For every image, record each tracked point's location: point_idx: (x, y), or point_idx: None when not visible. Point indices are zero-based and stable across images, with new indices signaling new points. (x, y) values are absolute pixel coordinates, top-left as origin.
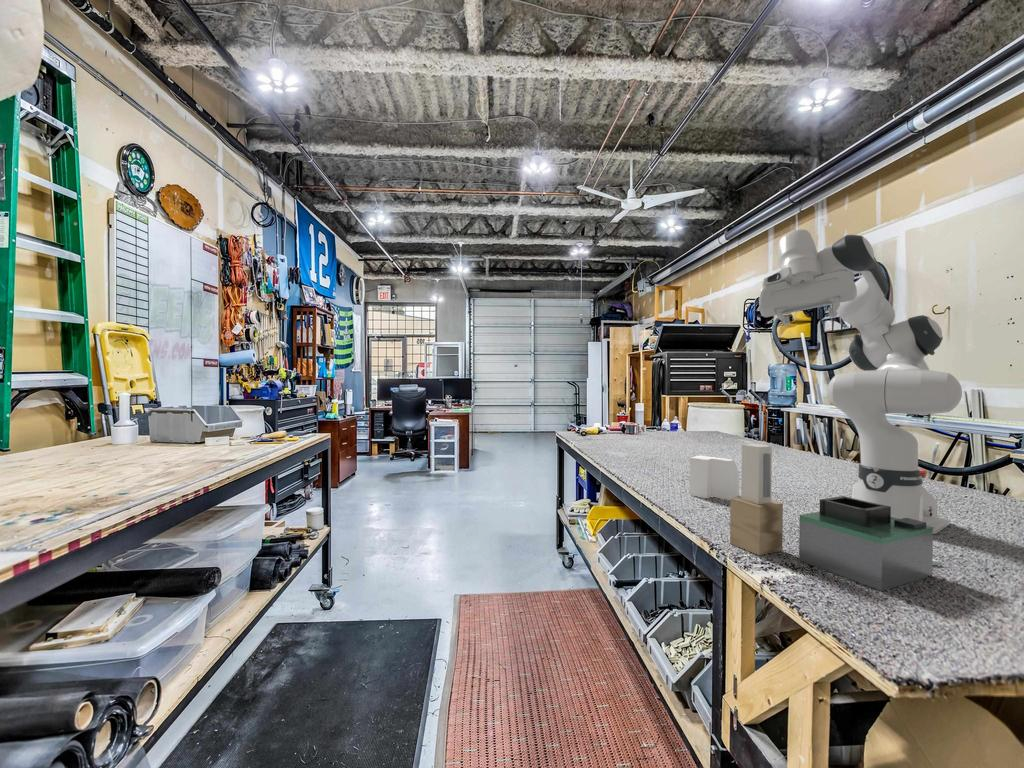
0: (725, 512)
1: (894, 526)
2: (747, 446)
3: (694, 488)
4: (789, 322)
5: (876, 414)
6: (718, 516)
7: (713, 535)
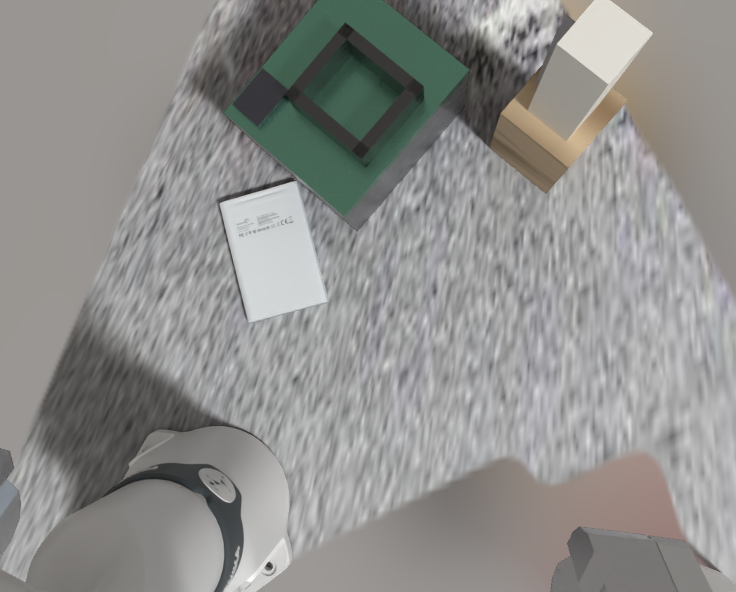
0: (606, 408)
1: (295, 76)
2: (633, 21)
3: (719, 578)
4: (577, 532)
5: (100, 587)
6: (624, 356)
7: (632, 181)
